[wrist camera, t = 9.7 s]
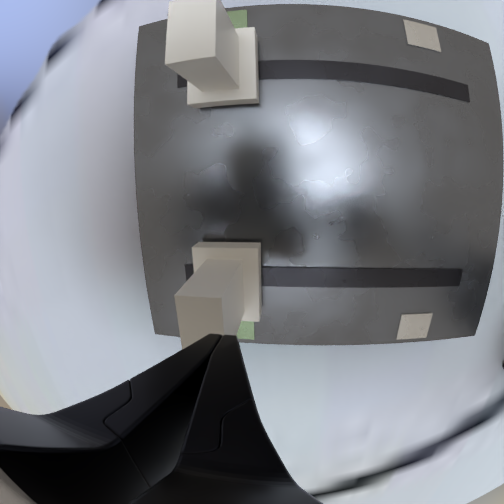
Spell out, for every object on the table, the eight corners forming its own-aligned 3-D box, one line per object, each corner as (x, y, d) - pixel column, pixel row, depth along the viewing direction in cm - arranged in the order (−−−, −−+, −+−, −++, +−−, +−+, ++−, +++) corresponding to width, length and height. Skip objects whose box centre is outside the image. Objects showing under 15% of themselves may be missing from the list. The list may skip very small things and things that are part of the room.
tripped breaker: (260, 242, 14) (243, 284, 9) (261, 312, 15) (246, 375, 10) (198, 241, 14) (153, 279, 9) (204, 309, 15) (169, 366, 10)
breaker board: (472, 51, 11) (489, 42, 9) (461, 320, 16) (475, 336, 14) (154, 38, 13) (138, 25, 11) (167, 318, 18) (154, 334, 16)
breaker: (257, 35, 11) (238, -21, 6) (259, 103, 12) (239, 68, 7) (195, 42, 11) (151, -4, 6) (194, 108, 12) (144, 82, 8)
